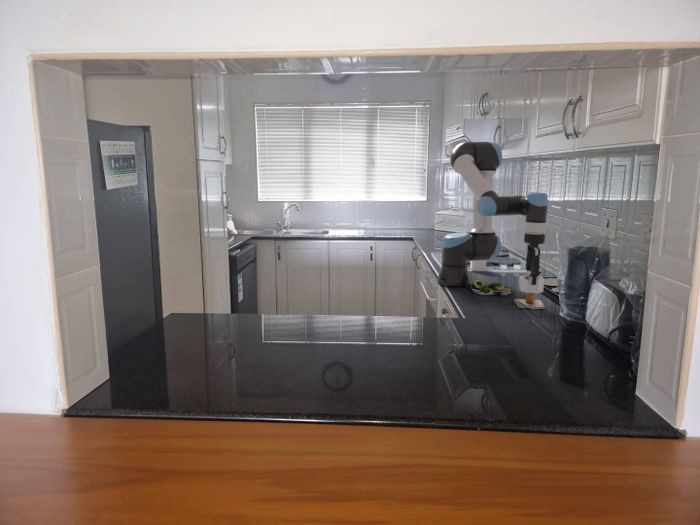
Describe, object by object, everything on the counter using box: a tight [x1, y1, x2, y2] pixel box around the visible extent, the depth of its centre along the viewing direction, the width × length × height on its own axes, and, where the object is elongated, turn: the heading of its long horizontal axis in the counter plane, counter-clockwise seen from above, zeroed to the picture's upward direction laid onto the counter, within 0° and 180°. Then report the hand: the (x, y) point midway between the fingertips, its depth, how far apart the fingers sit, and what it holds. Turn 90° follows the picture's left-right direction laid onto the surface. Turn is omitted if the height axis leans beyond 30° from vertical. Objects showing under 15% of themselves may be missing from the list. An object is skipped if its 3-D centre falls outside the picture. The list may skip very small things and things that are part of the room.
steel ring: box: [517, 274, 545, 294], centre depth 199 cm, size 9×9×5 cm
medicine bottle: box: [469, 260, 487, 272], centre depth 264 cm, size 7×7×12 cm
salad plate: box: [469, 278, 516, 295], centre depth 222 cm, size 19×18×5 cm
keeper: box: [514, 292, 546, 309], centre depth 200 cm, size 10×10×8 cm
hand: (530, 289), depth 199 cm, fingers closed on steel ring, 9 cm apart
